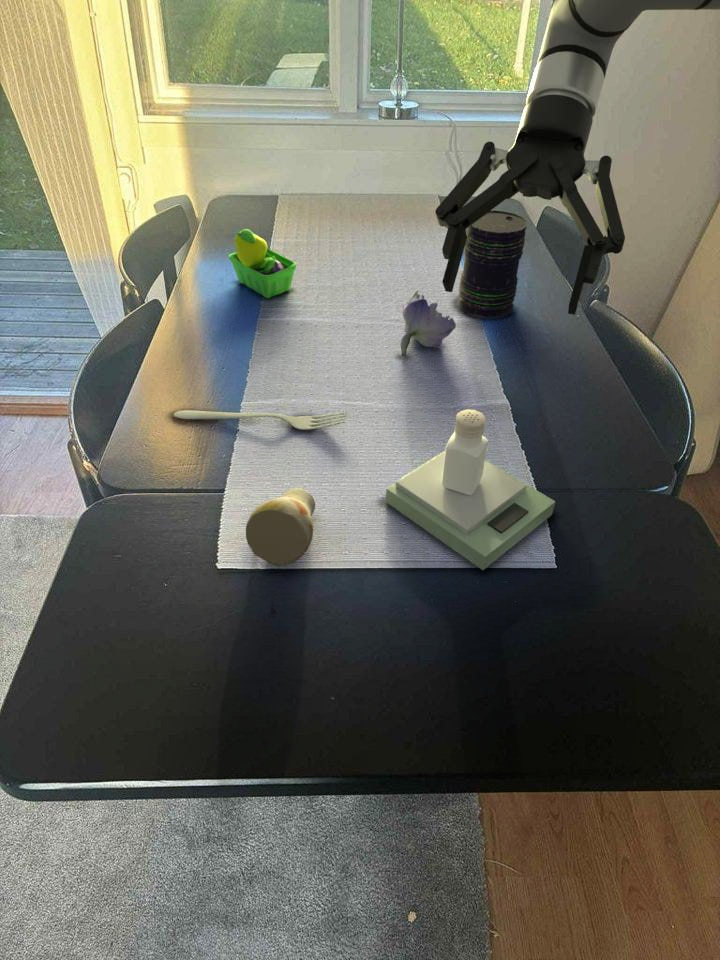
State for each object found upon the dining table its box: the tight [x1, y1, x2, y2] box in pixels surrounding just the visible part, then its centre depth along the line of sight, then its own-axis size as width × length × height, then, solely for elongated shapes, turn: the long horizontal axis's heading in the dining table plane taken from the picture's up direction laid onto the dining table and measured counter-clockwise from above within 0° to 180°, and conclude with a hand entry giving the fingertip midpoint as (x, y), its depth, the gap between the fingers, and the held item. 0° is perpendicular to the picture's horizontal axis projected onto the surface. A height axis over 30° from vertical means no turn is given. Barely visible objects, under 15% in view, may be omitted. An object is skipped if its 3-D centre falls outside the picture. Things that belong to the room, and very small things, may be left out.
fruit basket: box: [228, 228, 298, 299], centre depth 124 cm, size 11×9×11 cm
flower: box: [400, 289, 457, 358], centre depth 110 cm, size 9×9×10 cm
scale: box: [385, 450, 556, 571], centre depth 83 cm, size 15×13×3 cm
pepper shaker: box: [442, 408, 489, 495], centre depth 80 cm, size 4×4×10 cm
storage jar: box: [457, 210, 528, 319], centre depth 119 cm, size 10×10×15 cm
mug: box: [245, 487, 316, 566], centre depth 77 cm, size 8×10×10 cm
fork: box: [173, 409, 348, 431], centre depth 96 cm, size 3×24×2 cm, turn 85°
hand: (507, 298), depth 75 cm, fingers open, 13 cm apart
